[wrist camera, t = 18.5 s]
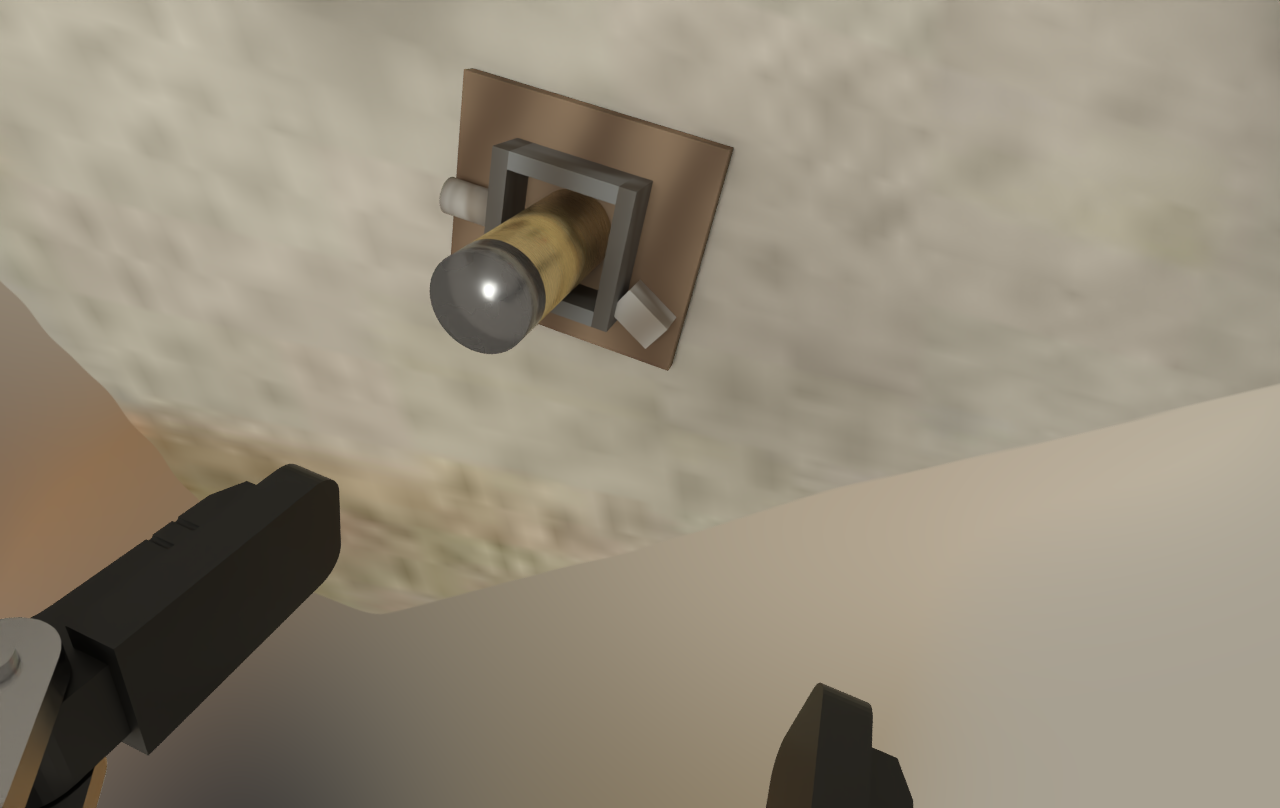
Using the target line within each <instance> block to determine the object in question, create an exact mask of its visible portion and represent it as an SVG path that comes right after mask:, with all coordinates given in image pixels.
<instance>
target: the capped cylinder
mask: <svg viewBox="0 0 1280 808" xmlns="http://www.w3.org/2000/svg"><path fill="white" fill-rule="evenodd" d="M610 229H611V223H610V220H609V217H608V215H607V213H606V211H605V210H604V208H603V207H602V206H601V204H600V203H599V202H598V201H597V200H596V199H594V198H593V197H590V196H587V195H584V194H581V193H578V192H574V191H571V190H568V189H560V190H557V191H555V192H552V193H551V194H549V195H547V196H546V197H544V198H543V199H541V200H539V201H538V202H536V203H534V204H533V205H531V206H530V207H528V208H526V209H525V210H523V211H521V212H520V213H518V214H517V215H515V216H513V217H512V218H510V219H508V220H507V221H505V222H504V223H502V224H500V225H499V226H497V227H496V228H494V229H492V230H491V231H489V232H487V233H486V234H484V235H483V236H481V237H479V238H478V239H476V240H474V241H473V242H471V243H470V244H468V245H466V246H465V247H463V248H461V249H460V250H458V251H457V252H455V253H453V254H452V255H450V256H448V257H447V258H445V259H444V260H443V261H442V262H441V263H439V265H438V266H437V267H436V269H435V271H434V273H433V275H432V278H431V283H430V299H431V304H432V307H433V310H434V312H435V315H436V317H437V319H438V320H439V322H440V324H441V325H442V327H443V328H444V329H445V330H446V332H447V333H448V334H449V335H450V336H451V337H452V338H453V339H455V340H456V341H457V342H459V343H460V344H462V345H463V346H465V347H467V348H469V349H471V350H474V351H476V352H480V353H486V354H497V353H502V352H505V351H508V350H510V349H512V348H513V347H514V346H516V345H517V344H518V343H519V342H520V341H521V340H522V339H523V338H524V337H525V336H526V335H527V334H528V333H529V332H530V331H531V330H532V329H533V328H534V327H535V326H536V325H537V324H538V323H539V322H540V321H541V320H542V319H543V318H544V317H545V316H546V315H547V314H548V313H549V312H551V311H552V310H553V309H554V308H555V307H556V306H557V305H558V304H559V303H560V302H561V301H562V300H563V299H564V298H565V297H566V296H567V295H568V294H569V293H570V292H571V291H572V290H573V289H574V288H575V287H576V286H577V285H578V284H579V283H580V282H581V281H582V280H583V279H584V278H585V277H586V276H587V275H588V274H589V273H590V272H591V271H592V270H593V269H594V268H595V267H596V266H597V265H599V264H600V263H601V262H602V260H603V259H604V258H605V254H606V249H607V244H608V239H609V234H610Z"/></svg>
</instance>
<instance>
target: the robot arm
mask: <svg viewBox="0 0 1280 808" xmlns="http://www.w3.org/2000/svg"><path fill="white" fill-rule="evenodd" d="M340 549H341V535H340V503H339V487H338V484H337V483H336V482H335V481H334V480H331V479H329V478H327V477H324V476H322V475H320V474H317V473H315V472H312V471H310V470H308V469H305V468H303V467H301V466H298V465H295V464H287V465H285V466H282V467H281V468H279V469H277V470H276V471H275V472H273V473H272V474H271V475H269V476H268V477H267V478H265V479H264V480H262V481H261V482H260V483H258V484H257V485H255V484H253V483H250V482H248V481H246V482H243V483H241V484H238V485H235V486H233V487H230V488H227V489H225V490H222V491H219V492H217V493H214V494H211V495H209V496H207V497H206V498H205V499H203V500H202V501H200V502H199V503H197V504H196V505H195V506H193V507H192V508H190V509H189V510H187V511H186V512H185V513H183V514H182V515H180V516H179V517H178V520H177V521H176V522H173V521H172V522H170V523H169V524H167V525H166V526H165V527H163V528H162V529H160V530H159V531H157V532H156V533H154V534H153V536H152V538H151V539H150V540H144V541H143V542H142V543H140V544H139V545H137V546H136V547H134V548H133V549H132V550H130V551H129V552H127V553H126V554H124V555H123V556H122V557H120V558H119V559H117V560H116V561H114V562H113V563H111V564H110V565H109V566H107V567H106V568H104V569H103V570H101V571H100V572H99V573H97V574H96V575H94V576H93V577H91V578H90V579H89V580H87V581H86V582H84V583H83V584H81V585H80V586H79V587H77V588H76V589H74V590H73V591H71V592H70V593H69V594H67V595H66V596H64V597H63V598H61V599H60V600H58V601H57V602H56V603H54V604H53V605H51V606H50V607H48V608H47V609H45V610H44V611H42V612H41V613H39V614H37V615H35V616H33V617H31V618H22V617H18V618H5V619H0V808H97V804H98V800H99V796H100V793H101V789H102V786H103V782H104V779H105V775H106V770H107V758H106V756H107V755H108V754H109V752H111V751H112V750H113V749H114V748H115V747H116V746H117V745H118V744H119V743H120V742H123V743H125V744H127V745H129V746H131V747H133V748H135V749H137V750H139V751H141V752H143V753H145V754H147V755H149V754H150V753H151V752H152V751H153V750H154V749H155V748H156V747H157V746H159V745H160V743H162V742H163V741H164V740H165V739H166V738H167V736H169V735H170V734H171V733H172V732H173V731H174V730H175V728H177V727H178V725H180V724H181V723H182V722H183V721H184V720H185V719H186V718H187V717H188V716H189V715H190V714H191V713H192V712H193V711H194V710H195V709H196V708H197V707H198V706H199V705H200V704H201V703H202V702H203V701H204V700H205V699H206V698H207V697H208V696H209V695H210V694H211V693H212V692H213V691H214V690H215V689H216V688H217V687H218V686H219V685H220V684H221V683H222V682H223V681H224V680H225V679H226V678H227V677H228V676H229V675H230V674H231V673H232V672H233V671H234V670H235V669H236V668H237V667H238V666H239V665H240V664H241V663H242V662H243V661H244V660H245V659H246V658H247V657H248V656H249V655H250V654H251V653H252V652H253V651H254V650H255V649H256V648H257V647H259V645H261V644H262V643H263V642H264V640H266V638H268V637H269V636H270V635H271V634H272V633H273V632H274V631H275V630H276V629H277V628H278V627H279V626H280V625H281V624H282V623H283V622H284V621H285V620H286V619H287V618H288V617H289V616H290V615H291V614H292V613H293V612H294V611H295V610H296V609H297V608H298V607H299V606H300V605H301V604H302V603H303V602H304V601H305V600H306V599H307V598H308V597H309V596H310V595H311V594H312V593H313V592H314V591H315V590H316V589H317V588H318V587H319V586H320V585H321V584H322V583H323V582H324V581H325V580H326V578H327V577H328V576H329V574H330V573H331V571H332V570H333V568H334V566H335V564H336V562H337V559H338V557H339V553H340ZM872 714H873V713H872V708H871V705H870V704H869V703H867V702H865V701H863V700H860V699H858V698H856V697H853V696H851V695H848V694H846V693H844V692H841V691H839V690H836V689H834V688H832V687H829V686H827V685H824V684H822V683H818V684H817V685H816V686H815V687H814V689H813V691H812V692H811V694H810V696H809V697H808V699H807V701H806V702H805V704H804V706H803V707H802V709H801V711H800V712H799V714H798V716H797V717H796V719H795V721H794V722H793V724H792V725H791V727H790V729H789V731H788V732H787V734H786V736H785V737H784V739H783V741H782V743H781V746H780V748H779V751H778V754H777V757H776V760H775V763H774V767H773V771H772V775H771V781H770V786H769V793H768V799H767V805H766V808H913V799H912V796H911V794H910V791H909V788H908V786H907V783H906V780H905V778H904V775H903V772H902V770H901V767H900V764H899V762H898V759H897V758H896V757H893V756H891V755H888V754H886V753H884V752H882V751H879V750H877V749H874V748H872V723H873V715H872Z"/></svg>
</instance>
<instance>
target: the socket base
mask: <svg viewBox="0 0 1280 808" xmlns="http://www.w3.org/2000/svg"><path fill="white" fill-rule="evenodd" d="M732 152H733V147H730V146H726V145H723V144H720V143H717V142H713V141H710V140H707V139H703V138H700V137H697V136H694V135H690V134H687V133H684V132H680V131H677V130H674V129H671V128H667V127H664V126H661V125H657V124H654V123H651V122H648V121H644V120H641V119H638V118H634V117H631V116H628V115H625V114H621V113H618V112H615V111H611V110H608V109H605V108H602V107H598V106H595V105H592V104H588V103H585V102H582V101H579V100H575V99H572V98H569V97H565V96H562V95H559V94H556V93H552V92H549V91H546V90H542V89H539V88H536V87H533V86H529V85H526V84H523V83H519V82H516V81H513V80H510V79H506V78H503V77H500V76H496V75H493V74H490V73H487V72H483V71H480V70H477V69H473V68H472V69H464V76H463V91H462V105H461V119H460V133H459V148H458V162H457V176H456V178H455V177H451V178H449V179H448V180H447V181H446V182H445V183H444V185H443V187H442V190H441V193H440V208H441V210H442V211H443V212H444V213H446V214H449V215H452V216H454V219H453V233H452V247H451V255H452V254H453V253H455V252H457V251H458V250H460V249H461V248H463V247H465V246H466V245H468V244H470V243H471V242H473V241H474V240H476V239H478V238H479V237H481V236H483V235H484V234H486V233H487V232H489V231H491V230H492V229H494V228H496V227H497V226H499V225H500V224H502V223H504V222H505V221H507V220H508V219H510V218H512V217H513V216H515V215H517V214H518V213H520V212H521V211H523V210H525V209H526V208H528V207H530V206H531V205H533V204H534V203H536V202H538V201H539V200H541V199H543V198H544V197H546V196H547V195H549V194H551V193H552V192H555V191H557V190H560V189H568V190H571V191H574V192H578V193H581V194H584V195H587V196H590V197H593V198H594V199H596V200H597V201H598V202H599V203H600V204H601V206H602V207H603V208H604V210H605V211H606V213H607V215H608V217H609V220H610V223H611V229H610V234H609V239H608V244H607V249H606V254H605V258H604V259H603V260H602V262H601V263H600V264H599V265H597V266H596V267H595V268H594V269H593V270H592V271H591V272H590V273H589V274H588V275H587V276H586V277H585V278H584V279H583V280H582V281H581V282H580V283H579V284H578V285H577V286H576V287H575V288H574V289H573V290H572V291H571V292H570V293H569V294H568V295H567V296H566V297H565V298H564V299H563V300H562V301H561V302H560V303H559V304H558V305H557V306H556V307H555V308H554V309H553V310H552V311H551V312H549V313H548V314H547V315H546V316H545V317H544V318H543V319H542V320H541V321H540V322H539V323H538V324H540V325H543V326H545V327H548V328H551V329H554V330H556V331H559V332H562V333H565V334H568V335H570V336H573V337H576V338H579V339H581V340H584V341H587V342H590V343H592V344H595V345H598V346H601V347H603V348H606V349H609V350H612V351H615V352H617V353H620V354H623V355H626V356H628V357H631V358H634V359H637V360H639V361H642V362H645V363H648V364H651V365H653V366H656V367H659V368H662V369H664V370H667V371H668V370H669V368H670V367H671V365H672V363H673V359H674V356H675V352H676V349H677V345H678V342H679V338H680V335H681V331H682V328H683V324H684V321H685V317H686V314H687V310H688V307H689V303H690V299H691V296H692V292H693V289H694V285H695V282H696V278H697V275H698V271H699V268H700V264H701V261H702V257H703V254H704V250H705V247H706V243H707V240H708V236H709V233H710V229H711V226H712V222H713V219H714V215H715V212H716V208H717V205H718V201H719V198H720V194H721V191H722V187H723V184H724V180H725V176H726V173H727V169H728V166H729V162H730V159H731V155H732Z"/></svg>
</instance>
